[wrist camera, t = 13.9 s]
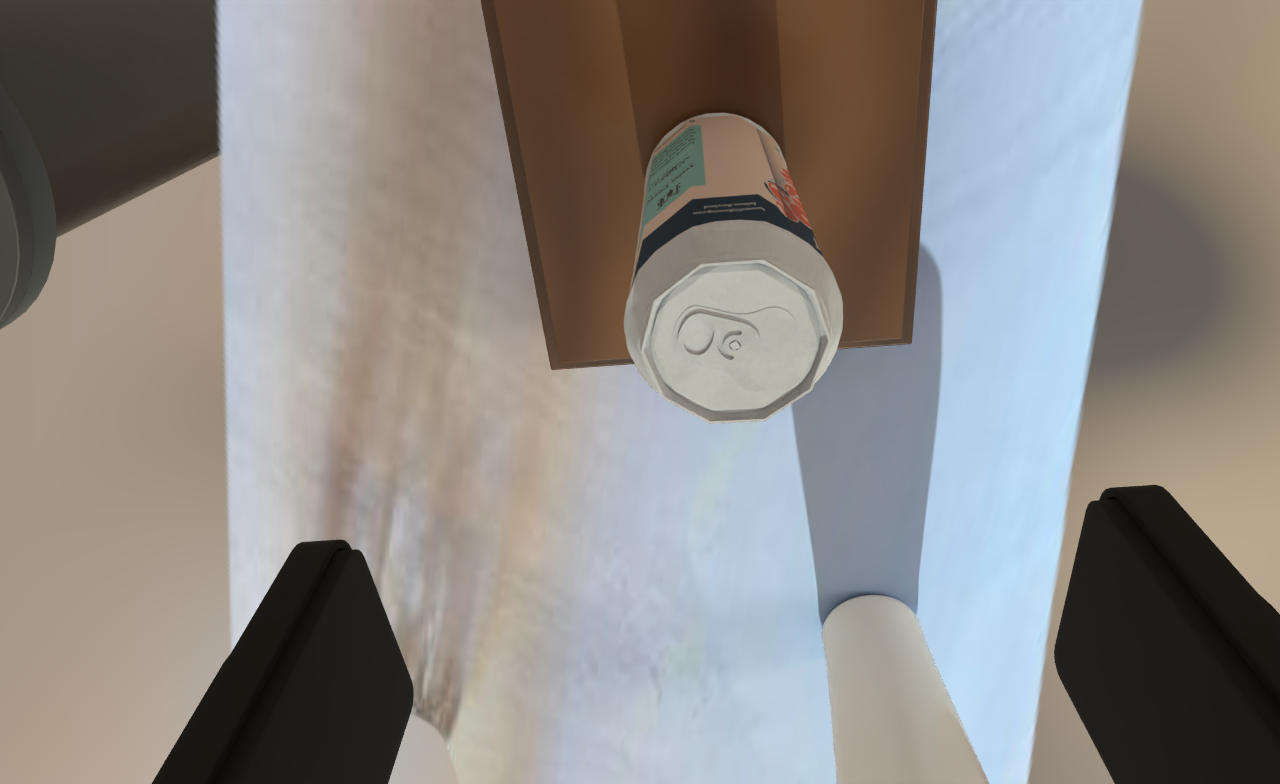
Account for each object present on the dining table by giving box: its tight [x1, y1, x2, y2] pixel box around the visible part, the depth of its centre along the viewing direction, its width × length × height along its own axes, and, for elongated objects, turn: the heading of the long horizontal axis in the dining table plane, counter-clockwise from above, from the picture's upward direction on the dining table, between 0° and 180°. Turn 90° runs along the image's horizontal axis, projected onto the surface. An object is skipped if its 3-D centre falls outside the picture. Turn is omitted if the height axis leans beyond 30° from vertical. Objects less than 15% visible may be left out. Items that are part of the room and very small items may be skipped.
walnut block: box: [481, 0, 937, 370], centre depth 29 cm, size 14×14×5 cm
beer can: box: [624, 113, 843, 424], centre depth 22 cm, size 5×5×12 cm
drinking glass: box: [822, 595, 989, 784], centre depth 38 cm, size 7×7×15 cm
